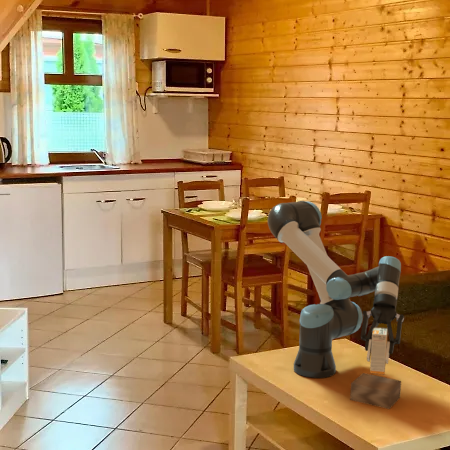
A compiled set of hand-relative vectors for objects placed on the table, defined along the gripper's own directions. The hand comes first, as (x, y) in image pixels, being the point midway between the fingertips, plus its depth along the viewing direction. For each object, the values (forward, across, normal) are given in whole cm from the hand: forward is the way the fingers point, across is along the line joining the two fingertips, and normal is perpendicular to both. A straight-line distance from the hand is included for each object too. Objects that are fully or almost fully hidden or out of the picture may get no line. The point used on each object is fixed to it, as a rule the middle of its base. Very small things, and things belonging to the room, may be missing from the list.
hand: (377, 360), depth 226 cm
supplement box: (+1, 0, -6) cm, 6 cm away
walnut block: (+8, 0, -13) cm, 15 cm away
